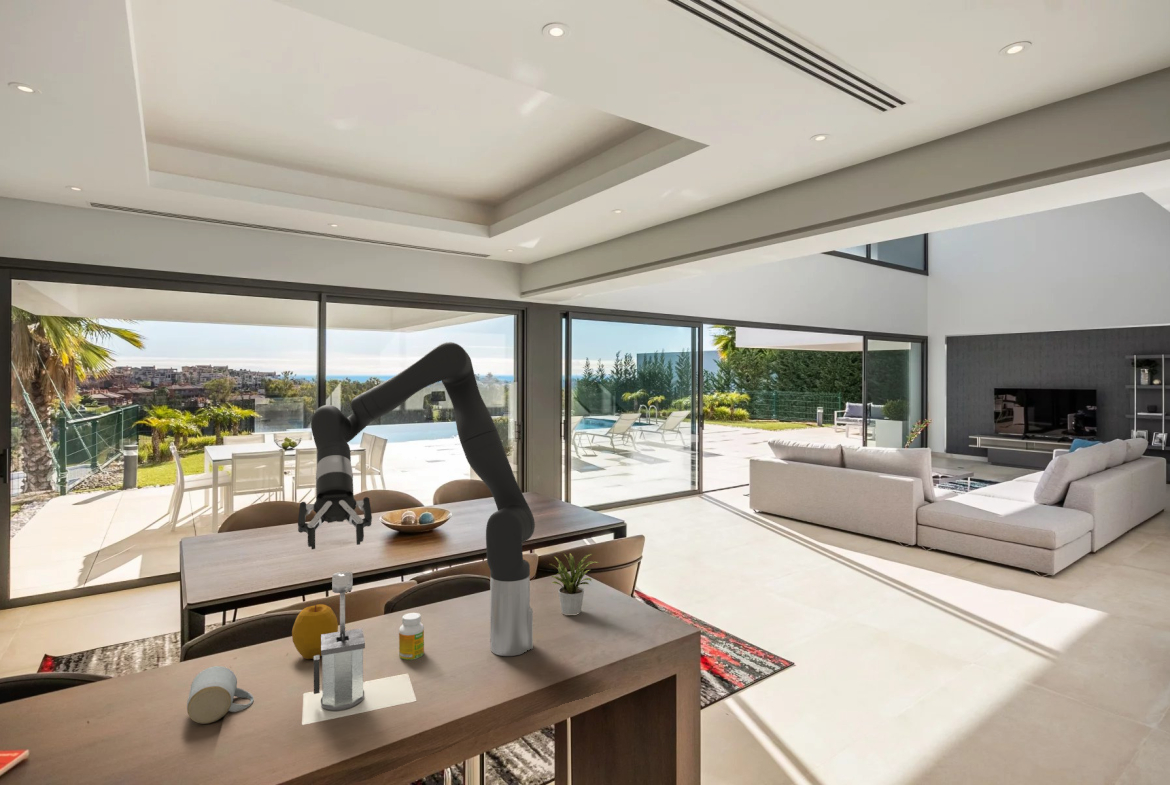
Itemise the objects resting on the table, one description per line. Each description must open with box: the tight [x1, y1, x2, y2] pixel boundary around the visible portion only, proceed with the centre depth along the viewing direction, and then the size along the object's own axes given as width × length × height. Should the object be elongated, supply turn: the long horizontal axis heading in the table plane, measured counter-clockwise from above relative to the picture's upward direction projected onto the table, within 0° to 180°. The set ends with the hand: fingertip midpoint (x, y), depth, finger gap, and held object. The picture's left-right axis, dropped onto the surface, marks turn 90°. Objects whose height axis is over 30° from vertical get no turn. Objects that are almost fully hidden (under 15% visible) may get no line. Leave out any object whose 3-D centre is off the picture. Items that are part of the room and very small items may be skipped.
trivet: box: [301, 672, 417, 726], centre depth 116 cm, size 20×12×1 cm, turn 114°
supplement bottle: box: [398, 612, 425, 661], centre depth 135 cm, size 5×5×10 cm
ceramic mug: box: [186, 665, 255, 725], centre depth 112 cm, size 11×8×8 cm
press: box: [313, 627, 366, 711], centre depth 115 cm, size 9×8×12 cm
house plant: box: [550, 552, 598, 614], centre depth 162 cm, size 14×14×16 cm
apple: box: [291, 603, 339, 660], centre depth 136 cm, size 10×10×12 cm
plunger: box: [331, 570, 353, 641], centre depth 115 cm, size 5×5×14 cm
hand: (336, 545), depth 121 cm, fingers open, 8 cm apart
